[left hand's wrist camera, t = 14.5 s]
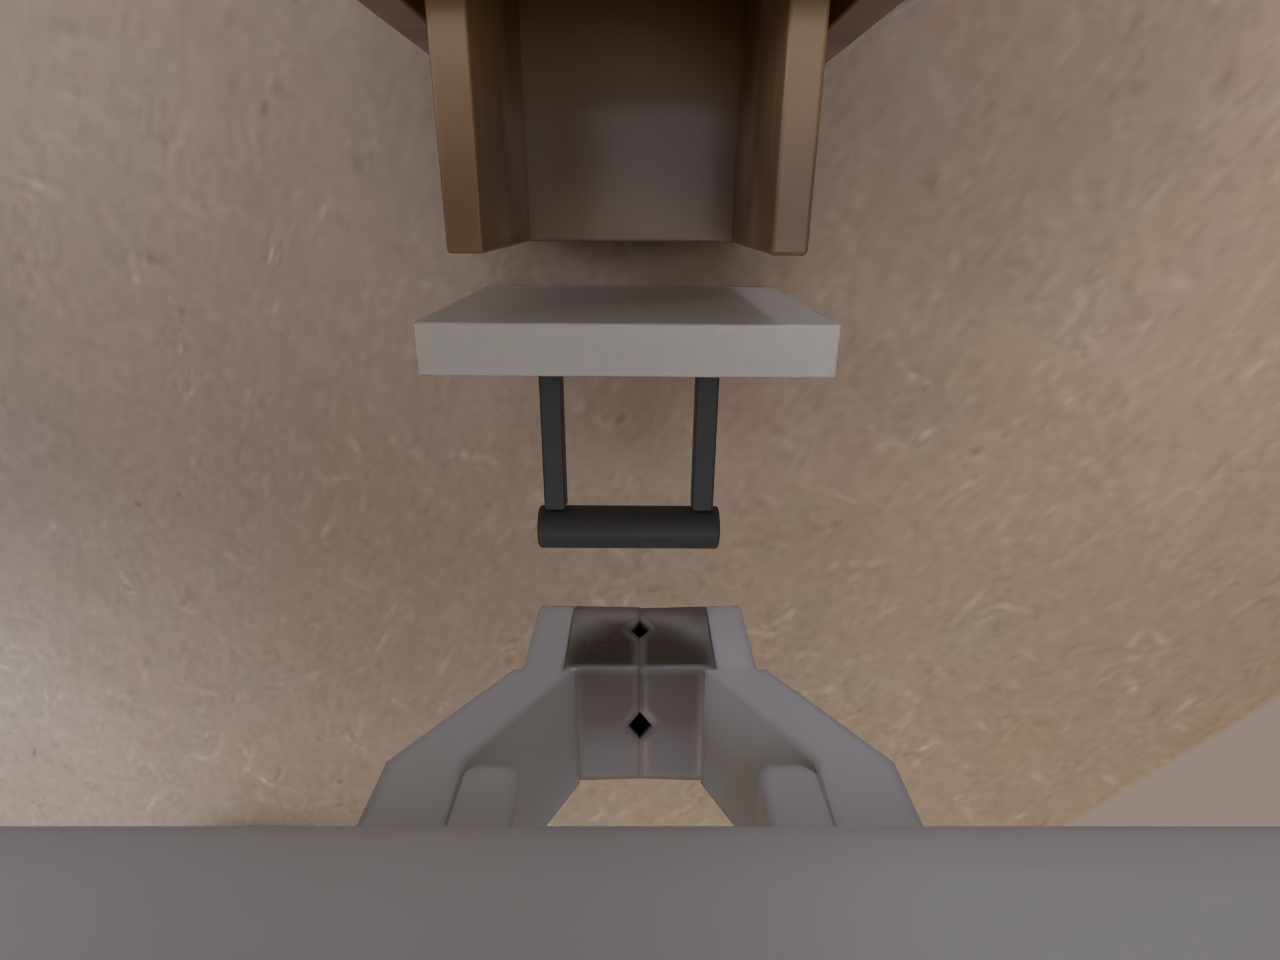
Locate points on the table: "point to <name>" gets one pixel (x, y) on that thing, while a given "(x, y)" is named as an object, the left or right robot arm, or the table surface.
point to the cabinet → (850, 15)
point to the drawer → (627, 208)
